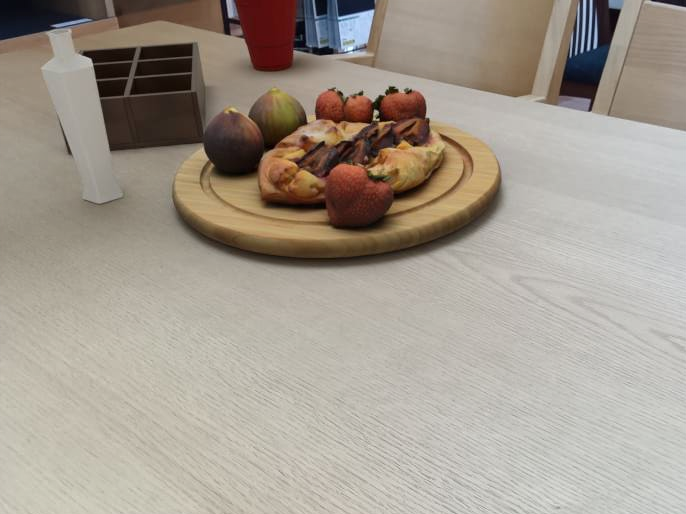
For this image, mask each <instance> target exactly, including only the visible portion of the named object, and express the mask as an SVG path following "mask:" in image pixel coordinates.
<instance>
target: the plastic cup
mask: <svg viewBox="0 0 686 514" xmlns="http://www.w3.org/2000/svg"><path fill="white" fill-rule="evenodd" d="M298 1H299V0H233V3H234V5H235V9H236V14H237V17H238V20H239V24H240V28H241V32H242V35H243V39H244V42H245V43H244V44H246V48H247V52H248V55H249V58H250V62H251V64H252V67H253V69H255V70H258V71H262V72H263V71H264V72H274V71H282V70H285V69H288V68H290V67H292V65H293V61H294V47H295V45H294V44H295V39H296V27H297V9H298Z"/></svg>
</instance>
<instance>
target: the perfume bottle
mask: <svg viewBox="0 0 686 514" xmlns="http://www.w3.org/2000/svg"><path fill="white" fill-rule="evenodd" d="M72 32H73V31H72V29H71V28H56V29H51V30H50V31H47V32H45V34H46V35H47V36H48V39H49V42H50V46H51V50H52V53H53V57H52V58H51V59H49V61H47V62H46V63H44V65H42V66H41V67H40V71H41V74H42V77H43V80H44V82H45V85H46V87H47V90H48V93H49V96H50V99H51V101H52V103H53V107H54V109H55V113H56V112H57V113H56V116H57V115H58V116H57V118H58V117H59V120H60V123H61V125H62V128H63V131H64V133H65V136H66V139H67V141H68V144H69V147H70V149H71V152H72V154H71V155H72V156H73V160H74V163H75V165H76V168H77V171H78V174H79V176H80V179H81V181H82V199H83V200H86V201H88V202H92V203H95V204H98V205H100V204H104V203H108V202H111V201H115V200H118V199H122V198H123V197H124V193H123V190H122V187H121V185H120V183H119V181H118V179H117V177H116V175H115V170H114V165H113V159H112V155H111V150H110V149H109V144H108V139H107V134H106V129H105V124H104V118H103V113H102V108H101V103H100V98H99V93H98V88H97V83H96V77H95V72H94V67H93V63H92V60H91V59H90V58H88V57H85V56H82V55H80V54H78V53H77V52H76V49H75V44H74V39H73V37H72ZM59 120H58V121H59ZM60 123H59V124H60Z"/></svg>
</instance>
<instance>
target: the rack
mask: <svg viewBox="0 0 686 514" xmlns="http://www.w3.org/2000/svg"><path fill="white" fill-rule="evenodd" d="M77 54H80V55H82V56H85V57H88V58H90V59H91V60H92V63H93V67H94V72H95V77H96V83H97V88H98V93H99V98H100V103H101V108H102V113H103V118H104V124H105V129H106V134H107V139H108V144H109V149H110V151H119V150H129V149H131V150H132V149H140V148H141V149H142V148H151V147H164V146H175V145H186V144H197V143H203V138H204V133H205V130H206V84H205V78H204V73H203V66H202V59H201V54H200V49H199V42H198V41H191V42H188V41H187V42H174V43H163V44H161V43H160V44H147V45H146V44H145V45H133V46H120V47H118V46H117V47H106V48H105V47H103V48H90V49H80V50H79V51H78V53H77ZM55 113H56V116H57V119H58V120H57V121H58V123H59V127H60V129H61V133H62V137H63V140H64V143H65V146H66V150H67V154H68V155H72V152H71V149H70V147H69V144H68V141H67V139H66V136H65V133H64V131H63V128H62V125H61V123H60V120H59V117H58V115H57V112H56V111H55Z"/></svg>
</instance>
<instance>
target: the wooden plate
mask: <svg viewBox="0 0 686 514" xmlns="http://www.w3.org/2000/svg"><path fill="white" fill-rule="evenodd" d="M403 91H404V92H400V91H399V88H397V86H394V85H393V86H392V85H388V88H386V89H385V91H384V94H378V96H377V97H376V98H375V99H374V101H373V100H372V99H370V98H369V97H367V96H365V95H364V91H363V89H361V90H360V91H359V92H356V93H355V92H354V93H352V94H348V96H344V92H342V91H341V90H339V89H337V87H336V86H332V87H331V88H327V90H326V91H322V92H321V93H320V94H318V96H317V98H316V101H315V107H314V114H307V113H306V110H305V109H304V107H303V105H302V104H301V103H300V101H299V100H298V99H296V98H295V97H294V96H292V95H290V94H289V93H287V92H285V91H283V90H280V89H279V88H278V87H277V86H271V88H270V89H269V90H268V91H267V92H266V93H264V94H263V95H261V96H260V97H259V98H258V99H257V100H256V101H255V102H254V103H253V104H252V106H251V107H250V109H249V111H248V115H245V114H244V113H242V112H241V111H239V110H238V109H237V108H236V107H235V106H228V107H227V108H225V109H223V110H222V111H220V112H219V113H217V114H216V115H215V116H214V117H213V119H212V120H210V122H209V123H208V124H207V126H206V127H205V133H204V138H203V142H202V144H203V146H202V147H200V148H199V149H198V150H196V151H195V152H194V153H193V154H191V155H190V156H189V157H187V158H186V160H184V162H183V163H182V164H181V165H180V167H179V168H178V170H177V172H176V173H175V176H174V178H173V182H172V187H171V189H172V190H171V197H172V201H173V205H174V208H175V209H176V211H177V212H178V214H179V215H180V216H181V217H182V218H183V220H184V221H185V222H186V223H187V224H188V225H190V226H191V227H192V228H193V229H194V230H196V231H197V232H199V233H201V234H202V235H204V236H206V237H208V238H210V239H212V240H214V241H217V242H219V243H222V244H225V245H227V246H230V247H233V248H237V249H240V250H244V251H249V252H253V253H258V254H262V255H263V254H264V255H270V256H279V257H291V258H300V259H333V258H334V259H335V258H336V259H337V258H351V257H360V256H368V255H376V254H377V255H378V254H383V253H389V252H393V251H399V250H404V249H407V248H411V247H414V246H418V245H422V244H424V243H428V242H431V241H433V240H436V239H439V238H441V237H444V236H446V235H449V234H450V233H453V232H455V231H458V230H459V229H461V228H463V227H465V226H467V225H468V224H470V223H471V222H472V221H474V220H476V219H477V218H478V217H479V216H481V215H482V214H483V213H484V212H485V211H486V210H487V209H488V208H489V207H490V206H491V204H492V203H493V202H494V200H495V199H496V197H497V196H498V194H499V191H500V189H501V184H502V170H501V166H500V161H498V158H497V156H496V154H495V153H494V152H493V150H492V149H491V148H490V147H489V146H488V145H487V144H486V143H485V142H483V141H482V140H481V139H479V138H478V137H476V136H474V135H472V134H471V133H470V132H469V133H468V132H467V131H465V130H462V129H460V128H457V127H456V126H453V125H449V124H446V123H443V122H439V121H435V120H431V119H430V118H429V117H427V112H428V111H427V109H428V108H427V100H426V98H425V96H424V95H423V94H422V93H421V92H420V91H418V90H416V89H413V88H409V87H406V88H404V89H403ZM375 111H377V112H375Z"/></svg>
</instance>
